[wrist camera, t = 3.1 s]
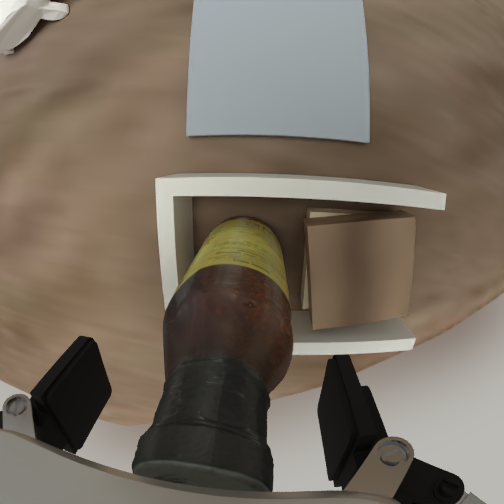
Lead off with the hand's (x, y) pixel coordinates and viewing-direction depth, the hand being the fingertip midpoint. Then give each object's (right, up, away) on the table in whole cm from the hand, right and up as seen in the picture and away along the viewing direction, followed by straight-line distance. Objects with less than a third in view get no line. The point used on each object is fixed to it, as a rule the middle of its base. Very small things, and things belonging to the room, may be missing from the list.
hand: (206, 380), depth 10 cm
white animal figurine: (-21, +33, +6) cm, 40 cm away
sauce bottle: (+1, +5, +14) cm, 15 cm away
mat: (+4, +20, +9) cm, 23 cm away
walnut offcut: (+10, +4, +12) cm, 16 cm away
